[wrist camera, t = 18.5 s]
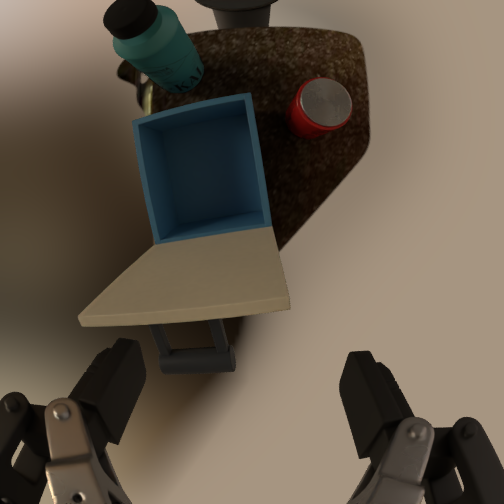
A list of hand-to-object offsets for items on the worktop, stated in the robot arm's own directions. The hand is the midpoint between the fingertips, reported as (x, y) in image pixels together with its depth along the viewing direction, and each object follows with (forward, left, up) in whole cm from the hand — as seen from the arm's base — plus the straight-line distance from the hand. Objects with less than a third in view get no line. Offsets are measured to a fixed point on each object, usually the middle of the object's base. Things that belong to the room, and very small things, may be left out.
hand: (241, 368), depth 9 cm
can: (-12, +9, -29) cm, 32 cm away
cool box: (-7, -4, -29) cm, 30 cm away
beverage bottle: (-21, -6, -29) cm, 36 cm away
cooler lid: (-1, -4, -12) cm, 13 cm away
